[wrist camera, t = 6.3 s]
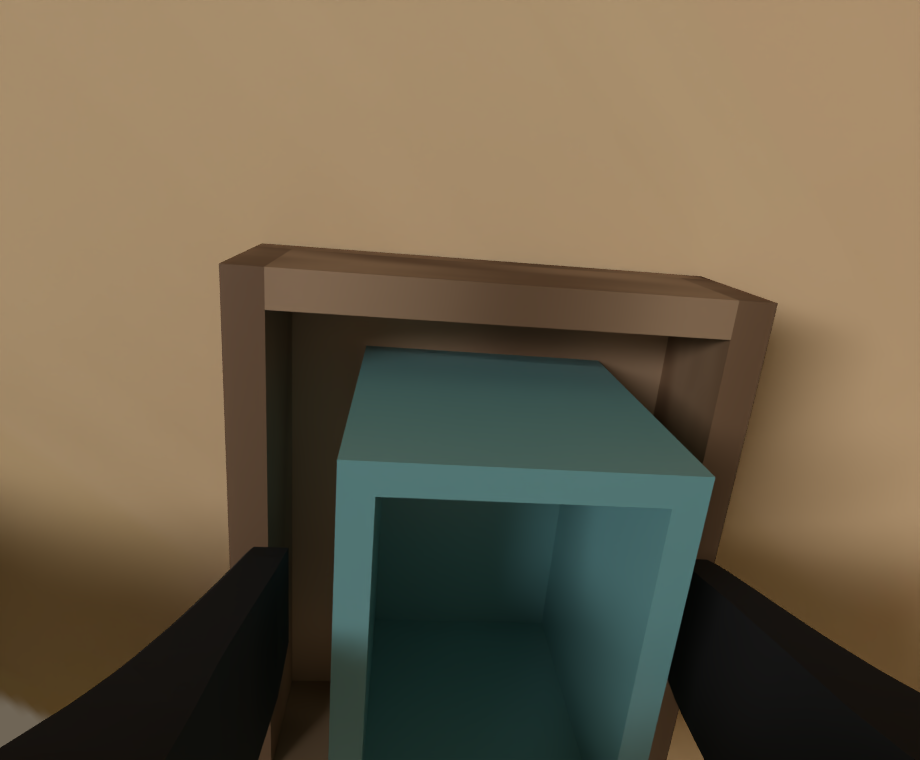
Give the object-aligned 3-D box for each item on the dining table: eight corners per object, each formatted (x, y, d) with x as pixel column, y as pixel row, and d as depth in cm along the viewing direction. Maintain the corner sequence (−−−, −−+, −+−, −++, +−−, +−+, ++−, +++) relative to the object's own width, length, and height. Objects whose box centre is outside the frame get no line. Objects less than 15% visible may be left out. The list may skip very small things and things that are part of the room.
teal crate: (354, 621, 15) (325, 855, 10) (366, 345, 13) (337, 460, 8) (554, 626, 16) (626, 850, 10) (597, 360, 14) (715, 477, 8)
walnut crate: (268, 687, 16) (237, 796, 13) (261, 243, 13) (218, 263, 10) (617, 689, 17) (658, 791, 14) (701, 276, 14) (777, 303, 11)
